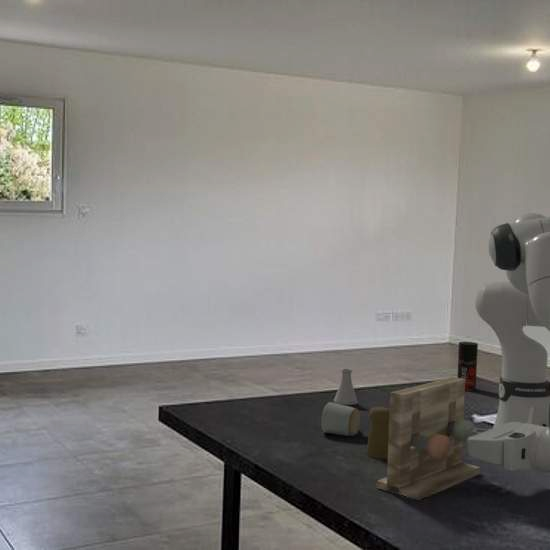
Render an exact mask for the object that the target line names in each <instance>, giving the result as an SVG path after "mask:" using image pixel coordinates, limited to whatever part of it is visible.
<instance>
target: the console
mask: <svg viewBox="0 0 550 550" xmlns="http://www.w3.org/2000/svg"><path fill="white" fill-rule="evenodd" d="M465 392H466V391H465V379H462V378H457V376H452V377H448V378H442V379H440V380H435V381H431V382H428V383H424V384H420V385H414V386H412V387H411V386H410V387H407V388H403V389H399V390H395V391H391V392H390V395H389V409H390V413H389V439H388V458H387V471H386V477H383V478H380V479H378V480H376V489H379V490H381V489H382V491H385V492H388V491H389V493H391V492H394V493H397V494H396V495H398V494H401V495H404V496H407V497H406V498H408V497H411V498H414V499H418V500H419V501H421V500H420V499H422V498H424V497H426V498H428V497H430V495H431V496H433V495H435V494H438V493H440V492H442V491H444V490H447V489H449V488H451V487H453V486H456V485H458V484H461V483H462V482H465V481H467V480H469V479H472V478H474V477H476V476H478V475H480V474H481V466H477V465H473V464H470V463H465V462H462V458H463V442H460V441H456V440H455V439H454V437H453V435H452V434H448V422H452V423H456V421H457V420H458V419H462V420H465V419H464V418H465V417H464V415H465V394H466V393H465ZM435 433H436V434H440V435H444V436H448V437H449V439H450V451H449V454H448V456H447V457H446V458H445V459H439V458H435V457H431V456H429V454H428V451H427V450H425V449H421V448H417V447H413V446H411V436H412V435H415V434H417V435H421V436H426V437H431V435H433V434H435ZM437 492H438V493H437ZM394 493H393V494H394ZM432 494H433V495H432ZM401 495H400V496H401ZM404 496H403V497H404ZM411 498H410V499H411ZM414 499H413V500H414ZM424 499H425V498H424ZM422 500H423V499H422Z"/></svg>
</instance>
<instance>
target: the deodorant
mask: <svg viewBox="0 0 550 550" xmlns="http://www.w3.org/2000/svg"><path fill="white" fill-rule="evenodd" d="M478 348H479V344H478V343H477V342H472V341H460V342H458V355H457V356H458V359H457V376H456V378H462V379H465V392H474V391H476V389H477V388H476V386H477V369H478V368H477V366H478Z"/></svg>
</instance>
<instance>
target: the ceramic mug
mask: <svg viewBox="0 0 550 550" xmlns="http://www.w3.org/2000/svg"><path fill="white" fill-rule="evenodd" d="M320 422H321V429H322V431H323V432H324V433H325V434H332V435H333V434H334V435H339V436H345V437H354V436H355V435H356V434H357V433H358V431H359V428H360V424H361V413H360V411H359V410H358V409H357V408H355V407H352V406H350V405H341V404H336V403H334V402H331V401H329V402H327V403H326V405H325V406H324V408H323V411H322V414H321V421H320Z"/></svg>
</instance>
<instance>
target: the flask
mask: <svg viewBox="0 0 550 550" xmlns="http://www.w3.org/2000/svg"><path fill="white" fill-rule="evenodd" d="M340 371H341V380H340V383H339V386H338V389H337V391H336V394H335V396H334V399H333V402H332V403H336V404H340V405H344V406H355V405H357V404H359V403H358V402H359V401H358V398H357V395H356V393H355V389H354V386H353V382H352V380H353V379H352V373H353V369H351V368H341V370H340Z"/></svg>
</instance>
